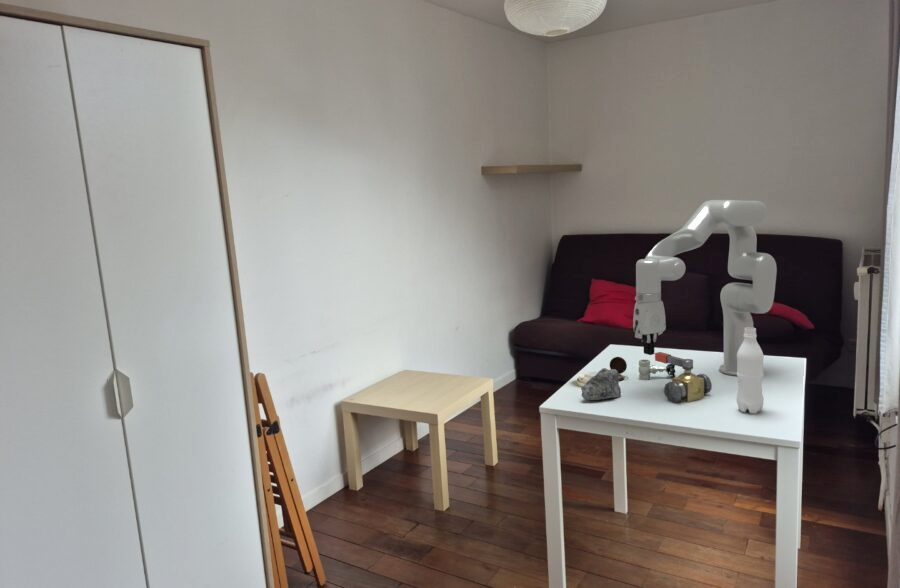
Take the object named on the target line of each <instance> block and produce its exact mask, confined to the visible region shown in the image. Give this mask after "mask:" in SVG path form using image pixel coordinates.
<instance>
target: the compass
mask: <svg viewBox="0 0 900 588" xmlns="http://www.w3.org/2000/svg"><path fill="white" fill-rule="evenodd" d="M627 366H628V363H627V361H626V360H625V359H624V358H623V357H622V356H615V357H613V358H612V359H611V360H610V361H609V368H610V369H609V370H612V369H615V370H617V372H618V375H619V376H618V378H619V382H621V381H623V380H627V379H628V380H629V377H628V376H624V375H622V374H623V373H626V372H625V371H626V370H627Z"/></svg>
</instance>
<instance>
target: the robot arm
mask: <svg viewBox="0 0 900 588" xmlns="http://www.w3.org/2000/svg"><path fill="white" fill-rule="evenodd" d="M767 216H768V209H767V206H766V204H764V202H762V201H760V200H737V199H712V200H711V199H709V200H707V201H704V202H703V203H701V204H700V205H699V207H698V208H697V209H696V210H695V212H693V214H692V215H691V217H690V218H689V219H688V220H687V222H686V223H685V224H684V225H683V226H682V227H681V228H680V229H679V230H678V231H676V232H674V233H671V234H670V235H669V236H667V237H665V238H663V239H661V240H660V241H659V242H657V243H656V244H655V245H654V246H653V248H652V249H651V250H650V251H649V252H648V253H647V255H646V256H645V258H641V259H638V260H637V261H636V264H635V291H636V292H635V293H636V295H635V296H634V300H635V301H636V302H635V303H634V309H633V318H632V322H633V323H632V328H633V332H634V338H636V339H639V340H641V342H643V354H645V355H649V356H652V355H655V342H657V338H658V336H660V335H662V334H663V332H664V331H665V330H666V328H667V324H666V311H665V306H664V305H665V304H664V302H663V300H662V292H661V291H662V281H677V280H679V279H681V278H682V277H683V276H684V274H685V272H686V267H687V266H686V264H685V262H684V260H682V259H681V258H679V257H676V256H677V255H679V254H681V253H684V252H689V251H692V250H695V249H697V248H700V247H702V246H703V245H704V244H705V243H706V242H707V240H708V239H709V237H710V236H711V235H712V233H714V231H715V230H716V229H717V228H718V227H724V228H725V230H726V231H727V232H728V236H729V247H728V248H729V251H728V258H727V259H728V260H727V261H728V262H727V272H728V274H729V276H730V277H732V278H734V279H739V280H747V281H748V280H749V281H752V284H751V283H747V282H746V283H745V282H730V283H727V284H726V285H724V286H723V287H722V288H721V291H720V295H719V297H720V303H721V308H722V315H723V316H722V317H723V364H721V365H720V366H719V367H718V370H719V372H720V373H722V374H725V375H728V376H729V375H730V376H737V352H738V350H739V348H740V346H741V345H742V343H743V341H744V333H745V332H744V331H745V328H747V327H753V328H754V320H753V316H752V314H766V313H768V312H769V311H770V310H771V309H772V307H773V304H774V300H775V292H776V283H777V274H778V273H777V271H778V269H777V262H776V260H775V258H774V257H773V256H772V255H771V254H769V253H766V252H757V243H758V242H757V238H758V237H757V234H756V230H755V228H754V227H758V226H761V225H762V224H764V223H765V222H766V219H767ZM751 313H752V314H751Z"/></svg>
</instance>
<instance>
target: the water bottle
mask: <svg viewBox="0 0 900 588" xmlns="http://www.w3.org/2000/svg"><path fill="white" fill-rule="evenodd" d="M744 332H745V333H744V341H743V343H742V345H741V346H740V348H739V350H738V352H737V380H738V390H737V393H736V404H737V406H738V409H739V410H740V412H742V413H746V412H747V411H748V412H749V413H750V414H752V415H753V414H757V413H758V412H759V413H760V412H761V411H762V410H763V406H764V395H763V387H762V386H763V380H764V379H763V378H764V375H765V373H764V357H765V356H764V353H763V350H762V348H761V346H760V344H759V343H758V341H757V336H758V335H757V328H755V327H754V326H753V327H747V328H745V331H744Z"/></svg>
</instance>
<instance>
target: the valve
mask: <svg viewBox="0 0 900 588" xmlns="http://www.w3.org/2000/svg"><path fill="white" fill-rule="evenodd" d="M675 366H676V365H673V364H669V363H667V364H666V366H665V367H664V366H656V364H655V365H653V364H652V365H651V360H650V359H644V358H642V359H639V360H638V373H639V374H638V376H639V377H638V378H639V379H640V380H642V381H647V380H648V381H649V380H650V379H651V374H652V375H654V374H655V375H656V374H657V372H659V373H664V372H666V373H667V374H668V375H669V376H670V379H672V378H675V377H676V369H675V368H676V367H675Z"/></svg>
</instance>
